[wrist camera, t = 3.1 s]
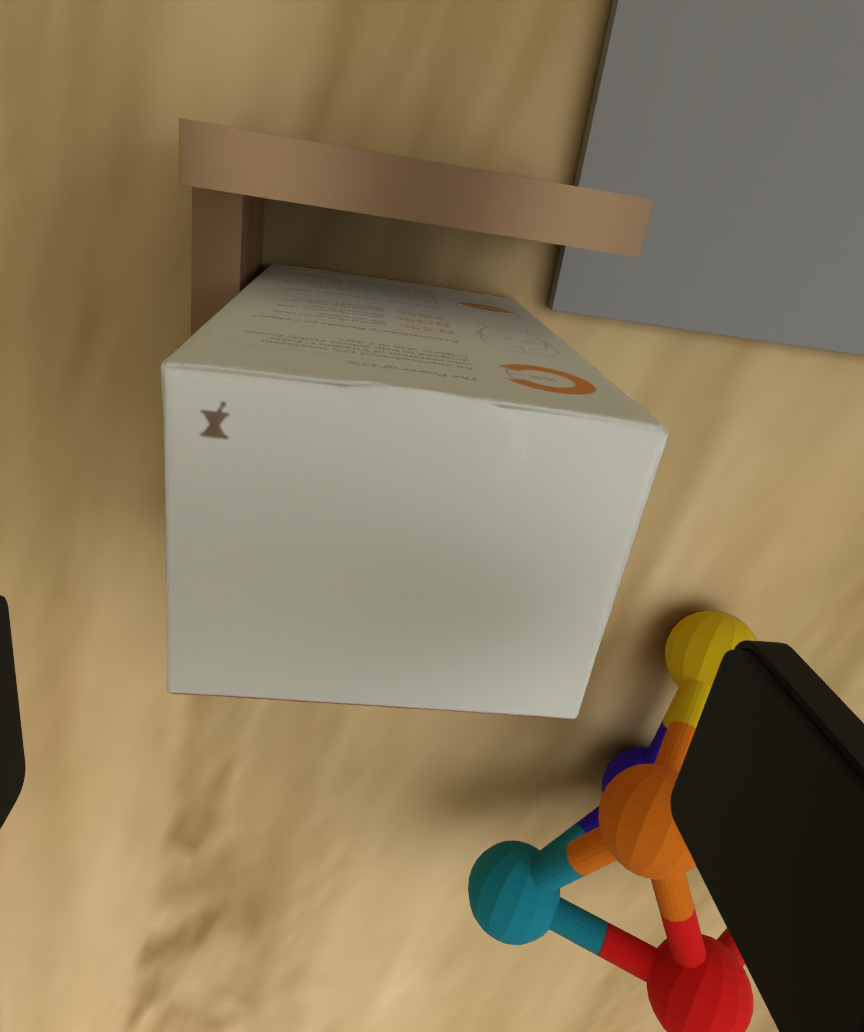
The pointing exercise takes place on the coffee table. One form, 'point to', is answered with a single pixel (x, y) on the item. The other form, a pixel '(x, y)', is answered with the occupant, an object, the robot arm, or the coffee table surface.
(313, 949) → the coffee table surface
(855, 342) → the coaster
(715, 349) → the coffee table surface
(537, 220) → the slot
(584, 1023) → the coffee table surface
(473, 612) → the small box
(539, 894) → the molecular model
